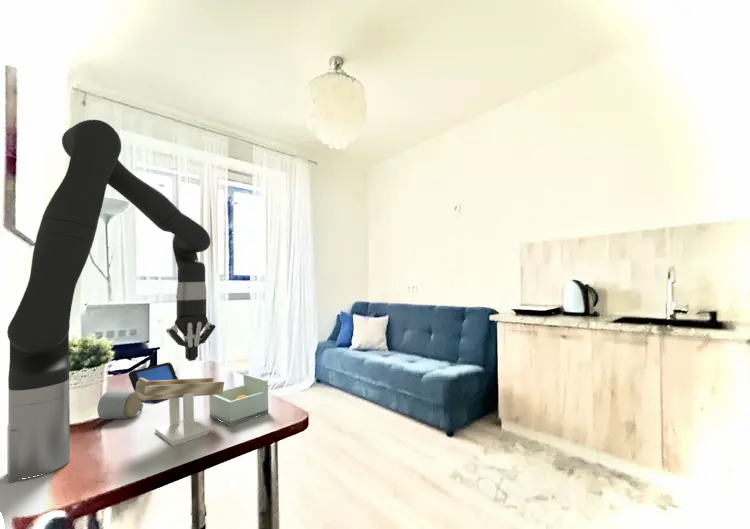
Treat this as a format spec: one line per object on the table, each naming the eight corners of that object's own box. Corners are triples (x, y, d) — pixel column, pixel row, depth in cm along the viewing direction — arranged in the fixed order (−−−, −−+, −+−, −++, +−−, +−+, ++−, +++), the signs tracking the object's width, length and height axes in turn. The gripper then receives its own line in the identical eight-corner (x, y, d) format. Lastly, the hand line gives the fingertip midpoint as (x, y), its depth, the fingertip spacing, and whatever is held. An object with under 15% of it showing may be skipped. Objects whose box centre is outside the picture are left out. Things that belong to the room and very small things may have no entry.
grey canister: (126, 422, 96) (126, 393, 97) (96, 423, 96) (96, 394, 97) (151, 409, 107) (151, 383, 107) (124, 410, 107) (124, 384, 107)
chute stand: (172, 446, 81) (172, 399, 81) (155, 432, 89) (154, 390, 89) (208, 433, 87) (207, 390, 87) (189, 422, 95) (188, 382, 95)
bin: (230, 426, 91) (229, 390, 91) (209, 415, 99) (209, 382, 99) (268, 412, 99) (267, 380, 99) (246, 404, 107) (246, 374, 107)
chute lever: (143, 400, 79) (147, 382, 80) (124, 388, 90) (127, 371, 90) (222, 393, 92) (224, 378, 93) (197, 383, 103) (199, 369, 104)
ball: (250, 411, 99) (236, 411, 96) (243, 408, 102) (230, 408, 99) (253, 396, 100) (240, 396, 97) (246, 393, 103) (233, 393, 100)
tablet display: (154, 404, 111) (154, 374, 111) (127, 400, 116) (126, 372, 117) (197, 389, 126) (196, 363, 126) (170, 386, 131) (170, 361, 131)
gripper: (171, 299, 93) (170, 366, 92) (220, 297, 103) (221, 357, 102) (161, 299, 98) (160, 362, 97) (209, 297, 108) (209, 354, 107)
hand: (191, 360), depth 100 cm, fingers closed
